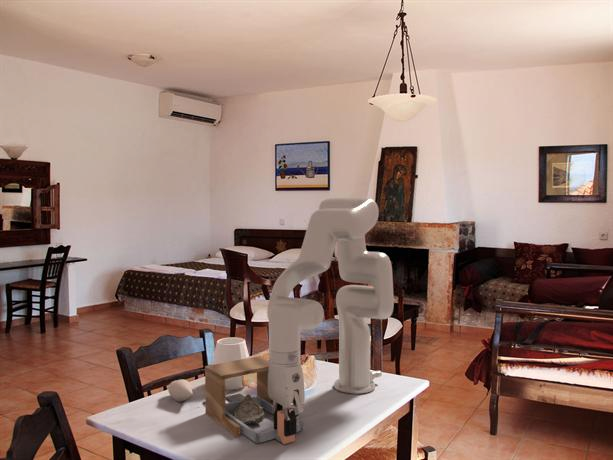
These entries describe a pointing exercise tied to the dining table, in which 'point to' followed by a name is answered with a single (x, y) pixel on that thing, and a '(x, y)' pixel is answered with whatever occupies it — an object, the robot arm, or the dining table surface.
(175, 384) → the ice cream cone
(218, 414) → the brown wooden arch frame
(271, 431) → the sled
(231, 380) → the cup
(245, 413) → the rock sample
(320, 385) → the dining table surface
